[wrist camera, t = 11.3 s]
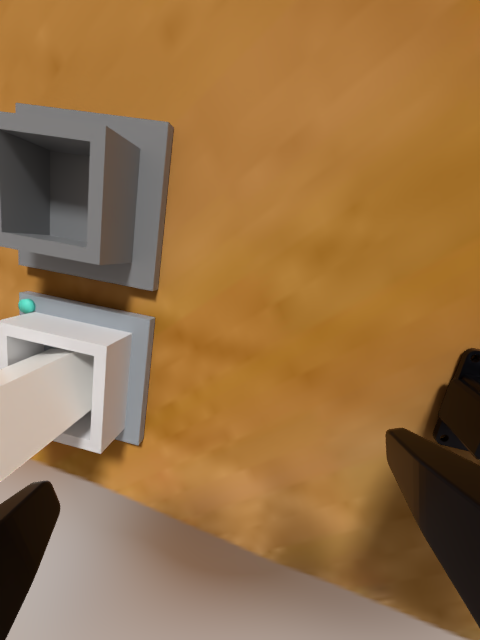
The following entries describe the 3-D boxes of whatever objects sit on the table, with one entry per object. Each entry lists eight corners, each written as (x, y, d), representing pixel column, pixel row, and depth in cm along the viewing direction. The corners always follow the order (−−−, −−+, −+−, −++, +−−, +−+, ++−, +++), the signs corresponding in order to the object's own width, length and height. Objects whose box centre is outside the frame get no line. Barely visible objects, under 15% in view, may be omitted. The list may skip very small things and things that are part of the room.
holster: (173, 127, 18) (139, 91, 14) (157, 289, 21) (124, 299, 16) (26, 108, 19) (-45, 70, 15) (28, 264, 22) (-33, 267, 18)
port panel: (155, 317, 21) (127, 331, 17) (143, 439, 24) (116, 473, 20) (28, 291, 22) (-23, 298, 19) (29, 409, 25) (-16, 437, 21)
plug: (97, 340, 21) (-147, 454, 9) (112, 392, 22) (-95, 558, 10) (49, 348, 22) (-230, 463, 10) (66, 398, 23) (-176, 558, 11)
